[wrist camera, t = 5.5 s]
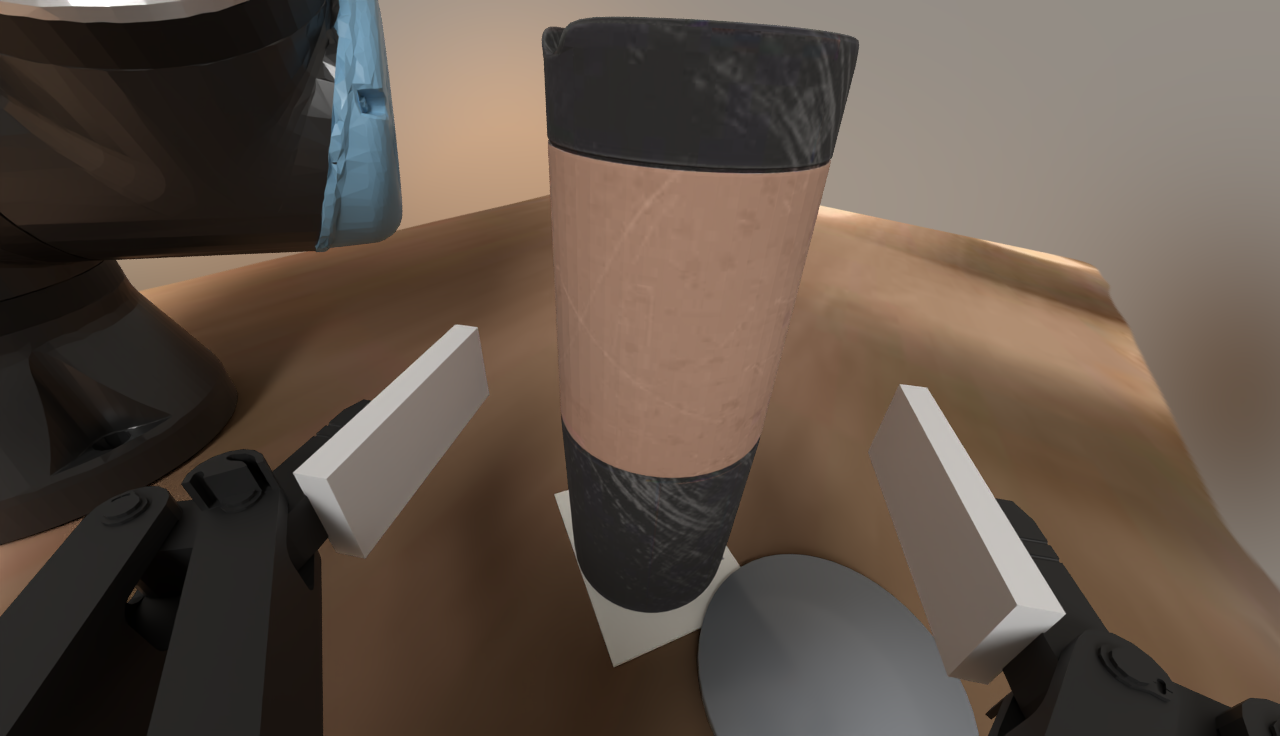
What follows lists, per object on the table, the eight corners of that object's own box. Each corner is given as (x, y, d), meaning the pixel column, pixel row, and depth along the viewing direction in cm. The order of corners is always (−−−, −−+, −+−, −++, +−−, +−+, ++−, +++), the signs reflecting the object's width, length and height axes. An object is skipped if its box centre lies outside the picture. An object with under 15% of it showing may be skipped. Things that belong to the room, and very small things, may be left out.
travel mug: (743, 513, 24) (872, 49, 13) (696, 655, 18) (859, 21, 7) (614, 463, 26) (626, 39, 15) (536, 574, 20) (461, 12, 9)
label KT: (554, 495, 24) (554, 493, 24) (670, 462, 27) (670, 460, 27) (613, 667, 17) (613, 665, 17) (760, 601, 20) (761, 599, 20)
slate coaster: (655, 607, 19) (656, 600, 19) (831, 534, 23) (834, 527, 23) (814, 955, 12) (820, 953, 12) (1038, 767, 16) (1047, 761, 15)
